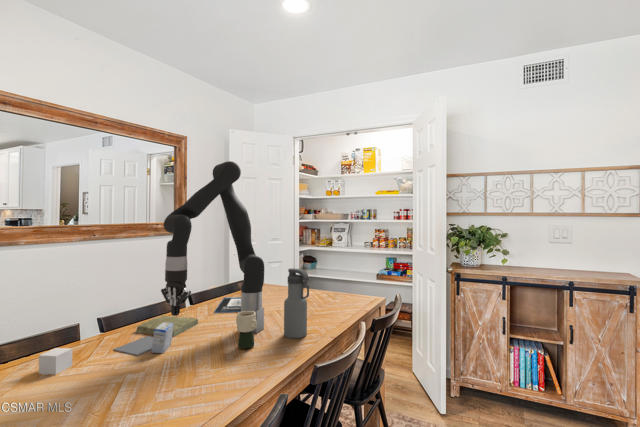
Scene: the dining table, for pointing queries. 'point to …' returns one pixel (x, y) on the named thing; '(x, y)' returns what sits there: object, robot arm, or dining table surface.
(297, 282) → the water bottle
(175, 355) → the dining table surface
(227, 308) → the sketchbook
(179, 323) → the folded green cloth
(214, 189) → the robot arm
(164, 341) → the medicine box
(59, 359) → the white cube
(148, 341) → the mat
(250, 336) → the character mug
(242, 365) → the dining table surface
